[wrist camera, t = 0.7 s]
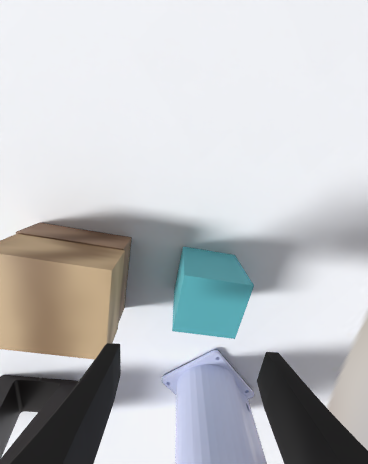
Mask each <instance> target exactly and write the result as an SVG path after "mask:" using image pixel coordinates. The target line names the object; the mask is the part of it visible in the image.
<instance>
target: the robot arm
mask: <svg viewBox="0 0 368 464" xmlns="http://www.w3.org/2000/svg"><path fill="white" fill-rule="evenodd" d="M119 378H120V344H111V343H107V344H106V345H105V346H104V347H103V349H102V350H101V352H100V353H99V355H98V356H97V357H96V359H95V360H94V362H93V363H92V364H91V366H90V367H89V369H88V370H87V371H86V373H85V374H84V375H83V377H82V378H81V379H80V381H79V382H78V383H77V384H76V386H75V387H74V388H73V390H72V391H71V392H70V393H69V395H68V396H67V397H66V398H65V400H64V401H63V402H62V403H61V404H60V406H59V407H58V408H57V409H56V410H55V412H54V413H53V414H52V415H51V416H50V418H49V419H48V420H47V421H46V422H45V424H44V425H43V426H42V427H41V428H40V429H39V431H38V432H37V433H36V434H35V435H34V436H33V437H32V438H31V440H30V441H29V442H28V443H27V444H26V445H25V446H24V447H23V448H22V450H21V451H20V452H19V453H18V454H17V455H16V456H15V457H14V458H13V459H12V460H11V461H10V463H9V464H93V463H94V460H95V457H96V454H97V451H98V448H99V445H100V442H101V439H102V436H103V433H104V430H105V427H106V424H107V421H108V418H109V415H110V412H111V409H112V406H113V403H114V399H115V395H116V391H117V387H118V382H119ZM162 383H164V384H165V385H166V386H167V387H168V388H169V389H170V390H171V391H172V392H173V393H174V394H176V448H175V464H267V463H266V459H265V455H264V452H263V449H262V445H261V442H260V439H259V435H258V432H257V428H256V425H255V422H254V418H253V415H252V411H251V408H250V405H249V401H248V399H250V398H252V397H253V396H254V393H253V391H252V389H251V388H250V387H249V386H248V385H247V384H246V383H245V381H244V380H243V379H242V378H241V377H240V376H239V374H238V373H237V372H236V371H235V370H234V369H233V367H232V366H231V365H230V364H229V363H228V362H227V360H226V359H225V358H224V357H223V356H222V355H221V353H220V352H219V351H217V350H213V351H211V352H209V353H207V354H205V355H203V356H201V357H199V358H197V359H195V360H193V361H191V362H189V363H187V364H186V365H184V366H182V367H180V368H178V369H176V370H174V371H172V372H170V373H168V374H166V375H164V376H163V377H162ZM257 383H258V387H259V391H260V395H261V398H262V402H263V405H264V409H265V412H266V414H267V417H268V420H269V423H270V425H271V428H272V431H273V434H274V436H275V439H276V442H277V445H278V447H279V450H280V453H281V456H282V458H283V461H284V464H368V451H367V450H366V449H365V448H364V447H363V446H362V445H361V444H360V443H359V442H358V441H357V440H356V439H355V437H354V436H353V435H352V434H351V433H350V432H349V431H348V430H347V429H346V428H345V427H344V426H343V425H342V424H341V423H340V422H339V421H338V420H337V419H336V418H335V416H333V415H332V413H331V412H329V410H328V409H327V408H326V407H325V406H324V405H323V403H322V402H321V401H320V400H319V399H318V398H317V397H316V396H315V395H314V393H313V392H312V391H311V390H310V389H309V388H308V387H307V385H306V384H305V383H304V382H303V381H302V380H301V379H300V377H299V376H298V375H297V374H296V373H295V372H294V371H293V369H292V368H291V367H290V366H289V365H288V364H287V362H286V361H285V360H284V359H283V358H282V357H281V355H280V354H279V353H274V352H266V354H265V357H264V360H263V364H262V367H261V370H260V373H259V376H258V379H257Z"/></svg>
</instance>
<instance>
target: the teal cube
mask: <svg viewBox="0 0 368 464" xmlns="http://www.w3.org/2000/svg"><path fill="white" fill-rule="evenodd" d="M253 287H254V285H253V283H252V282H251V280H250V279H249V277H248V275H247V274H246V272H245V271H244V269H243V268H242V266H241V264H240V263H239V261H238V260H237V258H236V256H235V255H232V254H226V253H220V252H214V251H208V250H201V249H195V248H189V247H183V249H182V254H181V259H180V264H179V269H178V274H177V279H176V284H175V289H174V305H173V329H172V331H176V332H184V333H193V334H201V335H209V336H217V337H225V338H233V339H235V337H236V334H237V331H238V329H239V326H240V323H241V320H242V317H243V315H244V312H245V309H246V306H247V304H248V301H249V298H250V295H251V292H252V290H253Z"/></svg>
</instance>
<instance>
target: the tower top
mask: <svg viewBox="0 0 368 464" xmlns="http://www.w3.org/2000/svg"><path fill="white" fill-rule="evenodd" d="M124 255H125V251H124V250H118V249H112V248H105V247H99V246H93V245H86V244H80V243H74V242H67V241H61V240H55V239H48V238H42V237H35V236H29V235H23V234H16V235H13V236H11V237H8V238H6V239H3V240H1V241H0V349H5V350H14V351H23V352H32V353H41V354H51V355H60V356H69V357H78V358H87V359H96V357H97V356H98V355H99V353H100V352H101V350H102V349H103V347H104V346H105V345H106V344H107V343H111V344H112V342H113V340H114V337H115V334H116V332H117V329H118V320H119V309H120V298H121V287H122V277H123V266H124Z"/></svg>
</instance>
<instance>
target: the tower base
mask: <svg viewBox="0 0 368 464" xmlns="http://www.w3.org/2000/svg"><path fill="white" fill-rule="evenodd" d="M16 234H23V235H29V236H35V237H42V238H48V239H55V240H61V241H67V242H74V243H80V244H86V245H93V246H99V247H105V248H112V249H118V250H124V251H125V255H124V266H123V277H122V287H121V298H120V309H119V320H120V318H121V315H122V312H123V310H124V306H125V296H126V287H127V277H128V267H129V257H130V247H131V237H125V236H119V235H113V234H107V233H101V232H94V231H88V230H82V229H76V228H70V227H64V226H58V225H52V224H45V223H38V224H35V225H32V226H30V227H27V228H25V229H22V230H20V231H17V232H16ZM119 320H118V323H119Z"/></svg>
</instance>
